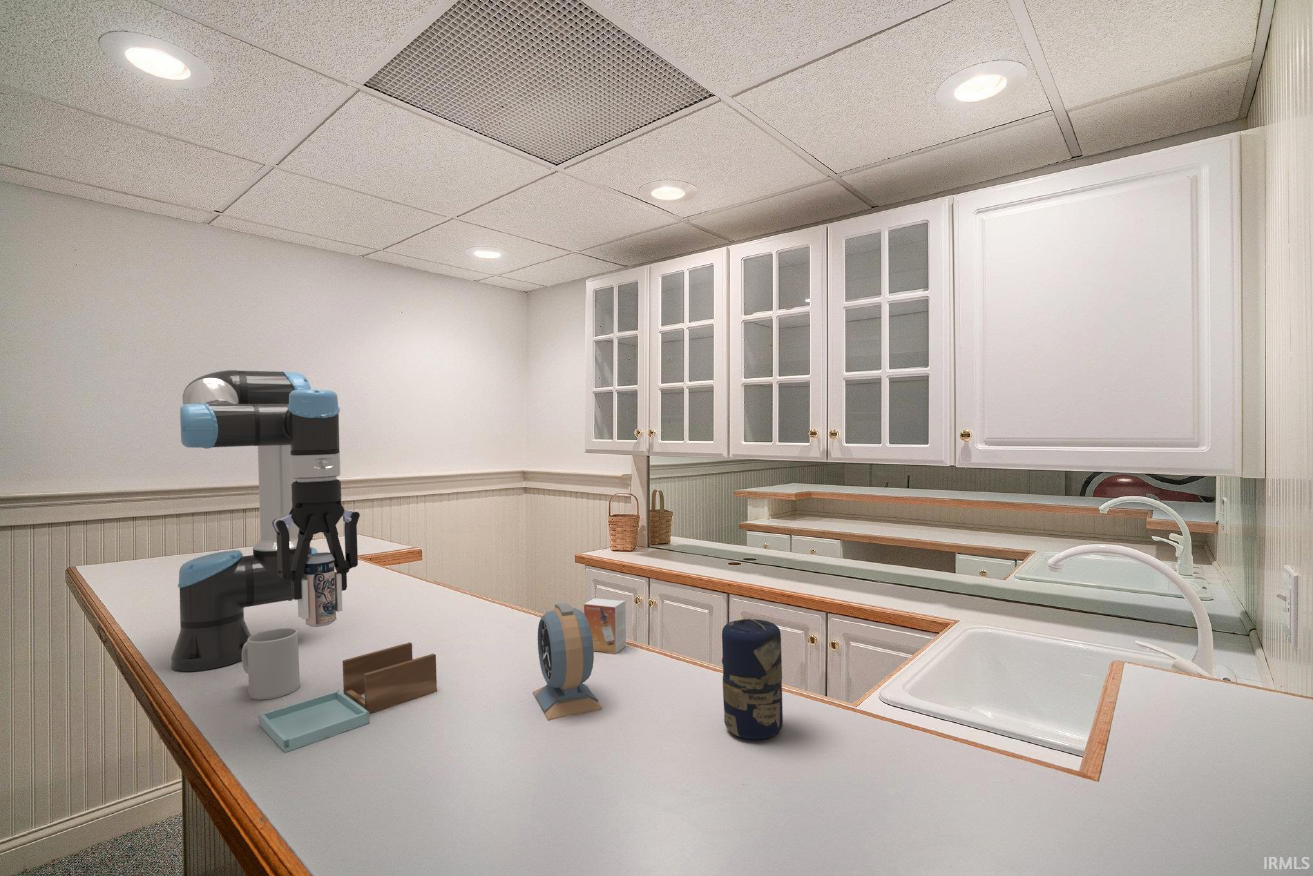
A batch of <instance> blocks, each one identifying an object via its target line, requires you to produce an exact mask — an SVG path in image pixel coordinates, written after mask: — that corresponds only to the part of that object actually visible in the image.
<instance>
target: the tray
mask: <svg viewBox="0 0 1313 876" xmlns="http://www.w3.org/2000/svg"><path fill="white" fill-rule="evenodd" d="M370 717H371V716H370V712H368V711H367V710H366V709H364V708H363V707H361V706H360V705H359V704H357V703H356V702H354V701H353V700H352V699H350V698H349V697H347V696H346V695H345V694H344V692H342V691H340V690H335V691H332V692H330V693H326V694H322V695H319V696H316V697H312V698H309V699H305V700H301V701H300V702H296V703H293V704H289V705H286V706H282V707H279V708H276V709H273V710H269V711H266V712H262V713H260V714H258V725H259V726H260V728H262V730H263V731H264V732H265V733H266V735H268V736H269V737H270V738H271V740H273V741H274V742H275V744H276V745H277V746H278V747H279V748H280V749H281V750H282V751H283V752H284V753H288V752H291V751H293V750H296V749H298V748H302V747H304V746H308V745H310V744H314V743H317V742H318V741H322V740H325V739H327V738H330V737H334V736H336V735H340V734H342V733H344V732H348V731H350V730H354V729H356V728H359V727H362V726H364V725H368V724H370V723H371V720H370V719H371V718H370Z"/></svg>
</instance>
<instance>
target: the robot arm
mask: <svg viewBox="0 0 1313 876" xmlns="http://www.w3.org/2000/svg"><path fill="white" fill-rule="evenodd" d="M340 410H341V409H340V407H339V399H338V393H336V392H335V391H334V390H330V389H312V387H311V385H310V381H309V380H308V378H307V377H306V375H304V374H303V373H300V372H291V371H284V370H282V371H275V370H274V371H269V370H263V371H262V370H261V371H260V370H237V369H236V370H235V369H231V370H229V369H228V370H221V371H220V370H219V371H215V372H210V373H207V374H203V375H202V376H200V377H197V378H196V379H193V380H192V381H191V382H190V383H189V384H188V385H187V386H185V389H184V390H183V394H182V406H181V407H180V410H179V419H180V423H179V424H180V442H181V445H182V446H184V447H185V448H193V449H194V448H197V449H202V448H203V449H206V450H207V449H210V448H211V449H212V448H229V447H230V448H232V447H235V448H236V447H257V462H258V465H257V469H258V498H259V499H258V501H259V526H260V527H259V528H260V530H259V532H260V533H259V535H260V539H259V540H258V541H257V542H256V543H255V544H254V545H253V546H252V554H250V555H244V554H243V553H242V551H241V550H239V549H233V550H225V551H220V552H215V553H209V554H207V555H206V554H204V555H201V556H199V557H196V558H193V559H190V560H188V561H186V562H184V563H183V564H182V565H181V566H180V567H179V570H178V583H177V588H179V621H180V624H179V625H180V630H179V634H178V636H177V640H176V642H175V645H174V648H173V651H172V655H171V659H170V660H171V668H172V670H175V671H178V672H197V671H198V672H199V671H206V670H212V669H218V668H221V667H225V666H230V665H232V664H235V663H238V662H239V663H240V662H242V648H243V645H244V644H245V643H246V642H247V640H248V638H249V637H250V636H252V635H251V634H252V633H251V631H250V629H249V628H248V626H247V623H246V621H245V614H244V613H245V610H244V609H245V608H249V607H256V606H261V605H267V604H273V603H280V602H285V601H288V602H292V601H293V600H295V601H297V617H299V618H300V619H302V620H306V619H308V618H309V610H308V580H306V579H304V569H305V564H306V560H307V555H309V554H314V553H319V552H318V549H317V548H315V547H313V546H311V542H312V540H313V537H314V535H317V534H319V533H323V536H324V537H325V539H326V543H327V547H328V550H329V553H331V554H332V555H333V557H334V558H335V559H334V569H335V602H336V613H339V612H343V593H342V592H343V591H346V590H347V589H348V576H347V575H348V573H349V572H350V570H351V569H352V568H356V567H357V566H358V564H359V560H358V559H359V557H358V555H359V553H358V523H359V519H360V516H361V514H360V513H359V511H354V510H346V509H345V508H344V506H343V504H342V481H341V480H340V479H337V478H338V477H339V476H341V453H340V412H341V411H340ZM341 519H342V522H344V526H343V529H344V552H343V549H342V546H341V541H340V538H339V532H338V528H337V524H338V523H339V521H340V520H341ZM344 555H345V556H344Z"/></svg>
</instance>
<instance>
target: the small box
mask: <svg viewBox="0 0 1313 876" xmlns="http://www.w3.org/2000/svg"><path fill="white" fill-rule="evenodd" d="M583 613H584V614H585V616H586V618H587V620H588V623H589V626H590V629H591V633H592V639H593V648H594V652H600V653H601V652H602V653H606V654H611V655H616V654H617V653H619V652H620V651H622V650H623V649H625V647H626V646H627V632H626V631H627V626H626V625H627V623H626V621H627V620H626V619H627V618H626V615H627V613H626V600H617V599H605V598H598V597H595V598H593V599H591V600H588V601H587V602H585V603H584V604H583Z"/></svg>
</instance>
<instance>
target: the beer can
mask: <svg viewBox="0 0 1313 876" xmlns="http://www.w3.org/2000/svg"><path fill="white" fill-rule="evenodd" d="M334 559H335V558H334V557H333V555H332V554H331V553H330V552H327V551H325V552H318V553H314V554H309V555H307V560H306V564H305V569H304V579H306V580H308V610H309V618H308V619H305V625H307V626H309V627H311V628H312V627H313V628H317V627H324V626H325V627H326V626H329V625H331V624H333V623H334V622H335V621H336V620H337V611H336V602H335V572H336V569H335V566H334Z"/></svg>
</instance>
